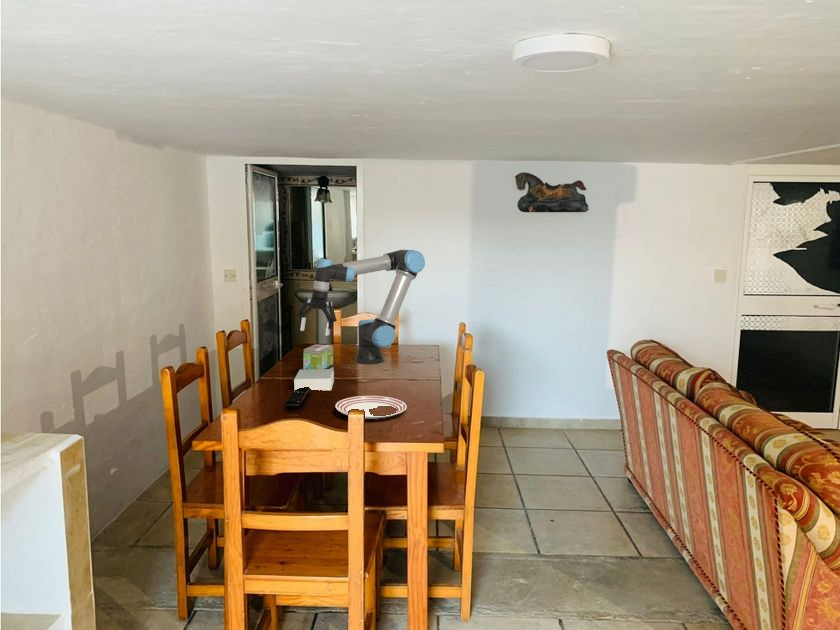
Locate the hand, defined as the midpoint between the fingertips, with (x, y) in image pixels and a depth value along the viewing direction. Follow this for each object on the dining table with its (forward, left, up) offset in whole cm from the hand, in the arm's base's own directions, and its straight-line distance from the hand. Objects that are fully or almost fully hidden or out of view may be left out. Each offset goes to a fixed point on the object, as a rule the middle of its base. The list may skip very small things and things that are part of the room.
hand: (314, 333), depth 281 cm
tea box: (-2, +6, -21) cm, 22 cm away
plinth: (-2, +24, -20) cm, 32 cm away
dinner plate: (-28, +65, -21) cm, 74 cm away
